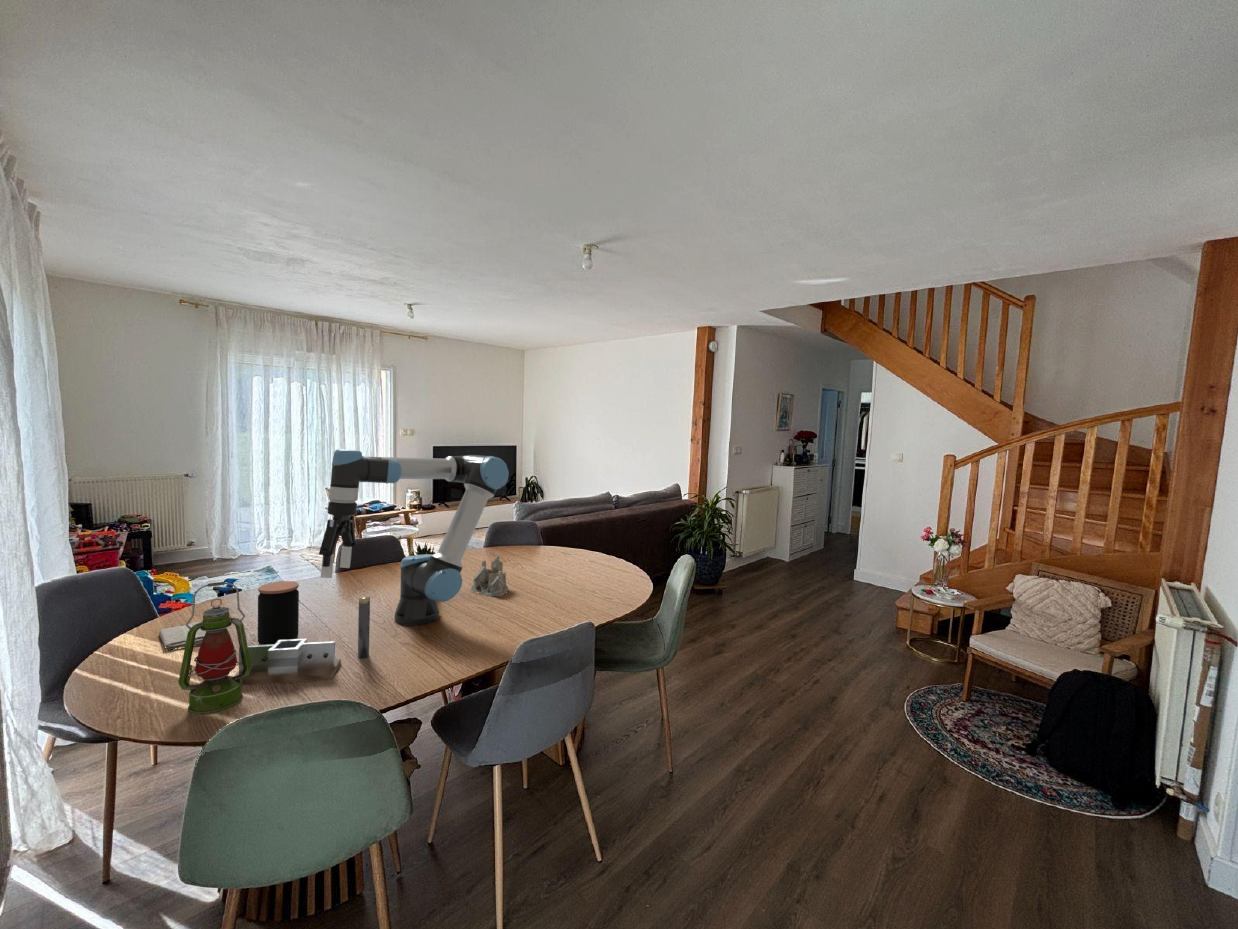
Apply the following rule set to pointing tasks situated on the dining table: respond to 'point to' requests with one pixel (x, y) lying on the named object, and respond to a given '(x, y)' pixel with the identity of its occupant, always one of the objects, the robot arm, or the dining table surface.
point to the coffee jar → (278, 612)
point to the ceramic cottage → (490, 579)
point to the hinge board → (301, 676)
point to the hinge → (290, 656)
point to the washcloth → (179, 636)
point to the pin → (363, 627)
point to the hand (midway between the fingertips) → (335, 572)
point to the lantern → (214, 661)
